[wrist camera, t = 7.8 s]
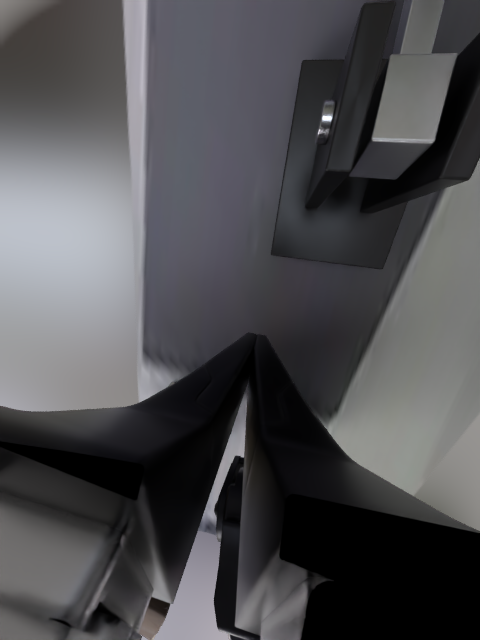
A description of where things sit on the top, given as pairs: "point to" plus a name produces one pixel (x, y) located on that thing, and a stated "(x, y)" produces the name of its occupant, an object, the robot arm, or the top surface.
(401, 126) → the lever
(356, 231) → the black lever stand
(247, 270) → the top surface
